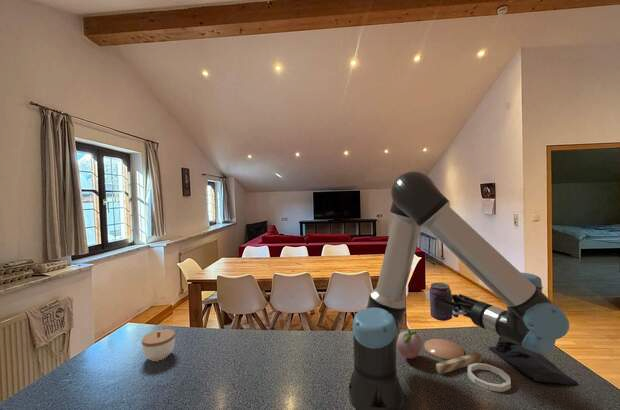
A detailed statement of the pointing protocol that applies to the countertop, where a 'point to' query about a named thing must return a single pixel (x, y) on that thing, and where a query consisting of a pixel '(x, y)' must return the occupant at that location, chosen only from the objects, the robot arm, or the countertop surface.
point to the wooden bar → (458, 362)
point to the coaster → (443, 349)
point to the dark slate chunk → (530, 363)
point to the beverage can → (443, 293)
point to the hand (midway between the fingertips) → (432, 293)
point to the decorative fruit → (409, 344)
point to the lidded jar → (158, 344)
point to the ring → (484, 384)
